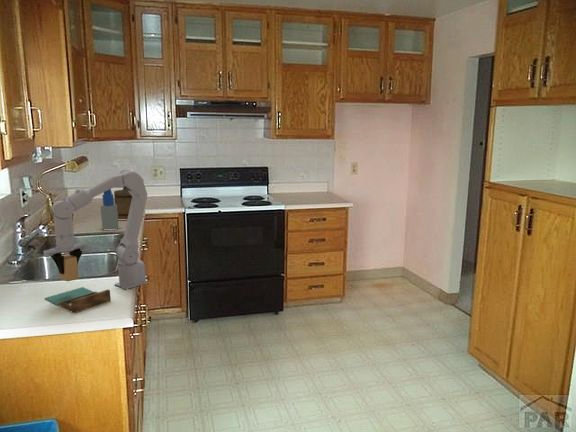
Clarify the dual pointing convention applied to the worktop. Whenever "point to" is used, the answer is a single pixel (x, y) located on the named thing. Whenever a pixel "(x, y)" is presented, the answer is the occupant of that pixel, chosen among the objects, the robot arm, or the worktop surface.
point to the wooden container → (122, 202)
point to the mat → (68, 295)
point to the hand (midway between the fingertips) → (68, 271)
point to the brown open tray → (86, 301)
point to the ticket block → (69, 268)
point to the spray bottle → (109, 211)
